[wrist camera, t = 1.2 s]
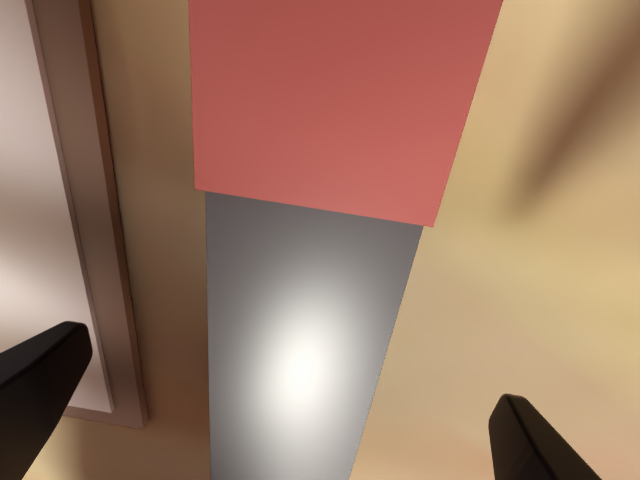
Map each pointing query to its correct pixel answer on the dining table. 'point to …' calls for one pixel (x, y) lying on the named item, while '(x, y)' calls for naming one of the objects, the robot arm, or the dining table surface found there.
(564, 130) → the dining table surface
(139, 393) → the picture frame
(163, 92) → the dining table surface
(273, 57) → the marker
